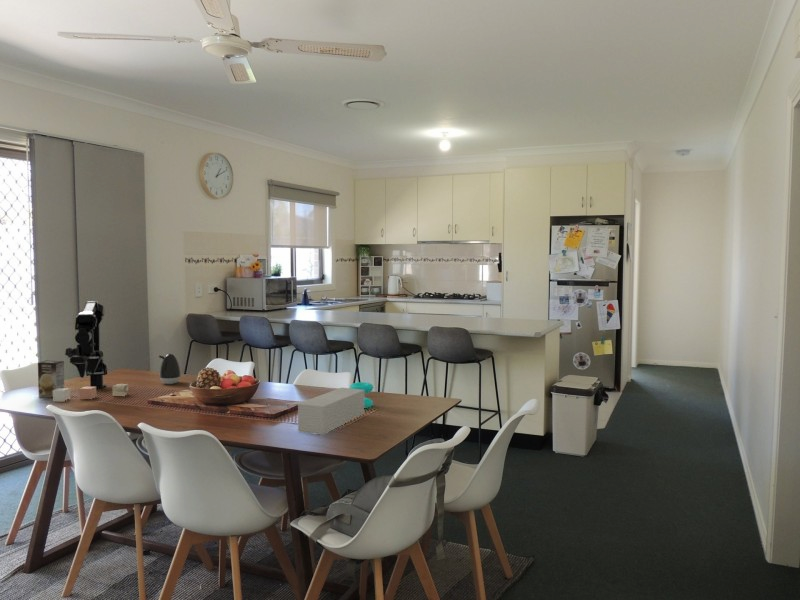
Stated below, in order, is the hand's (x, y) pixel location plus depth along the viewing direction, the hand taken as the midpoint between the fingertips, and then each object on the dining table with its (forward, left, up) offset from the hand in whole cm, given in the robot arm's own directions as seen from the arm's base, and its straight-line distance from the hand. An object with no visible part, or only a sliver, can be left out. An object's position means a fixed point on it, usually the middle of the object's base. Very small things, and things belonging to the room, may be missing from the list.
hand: (87, 375), depth 286 cm
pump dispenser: (-35, +24, -11) cm, 44 cm away
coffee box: (-4, -19, -11) cm, 22 cm away
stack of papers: (+40, +116, -11) cm, 123 cm away
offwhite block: (+4, -10, -11) cm, 15 cm away
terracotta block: (0, 0, -11) cm, 11 cm away
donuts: (+13, +125, -11) cm, 126 cm away
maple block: (-6, +12, -11) cm, 17 cm away
